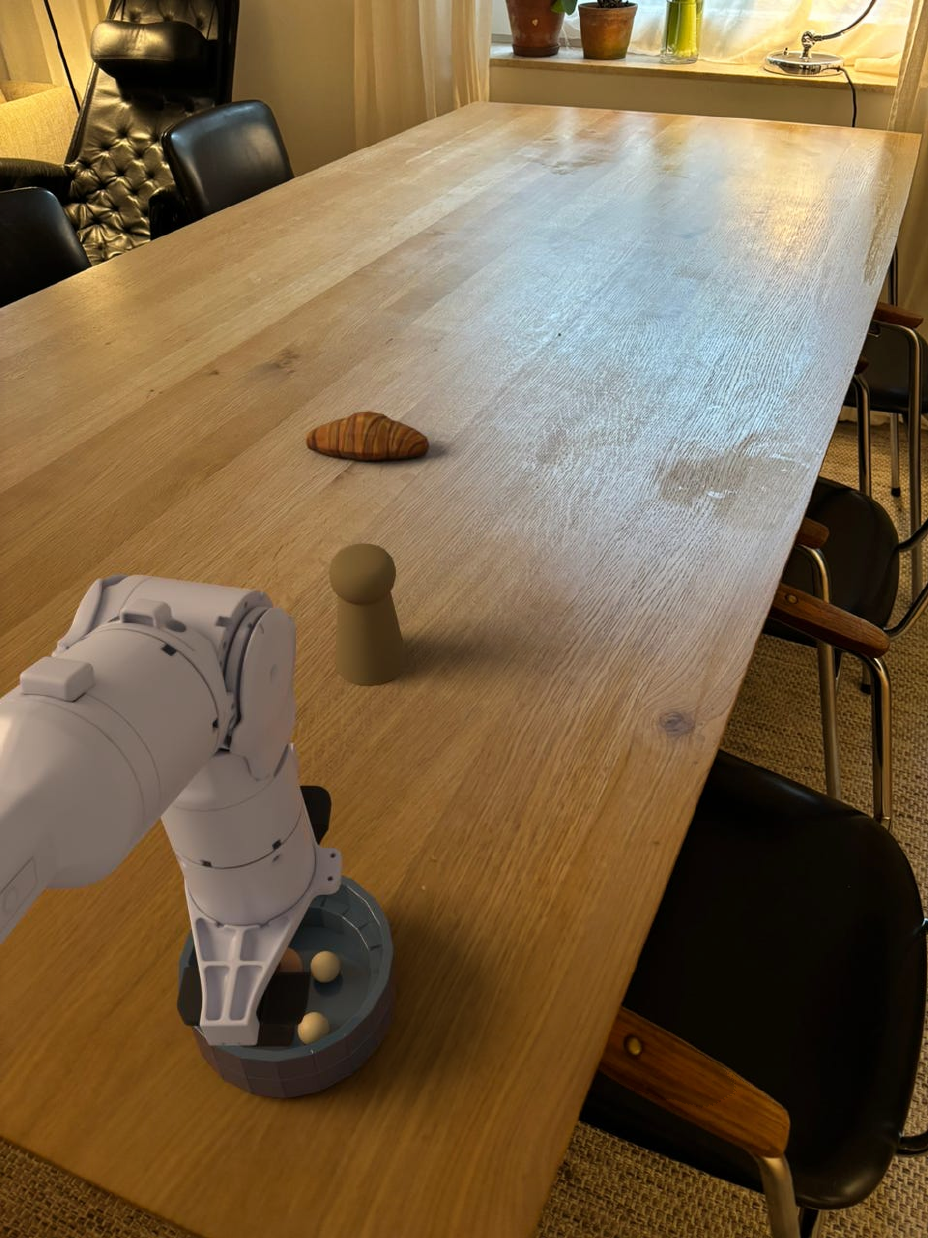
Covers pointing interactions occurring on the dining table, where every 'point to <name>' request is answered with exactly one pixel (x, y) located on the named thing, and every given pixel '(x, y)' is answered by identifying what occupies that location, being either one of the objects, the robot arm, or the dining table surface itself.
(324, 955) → the chickpea
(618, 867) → the dining table surface
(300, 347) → the dining table surface
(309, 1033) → the chickpea
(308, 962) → the bowl
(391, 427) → the croissant
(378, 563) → the brown game pawn
